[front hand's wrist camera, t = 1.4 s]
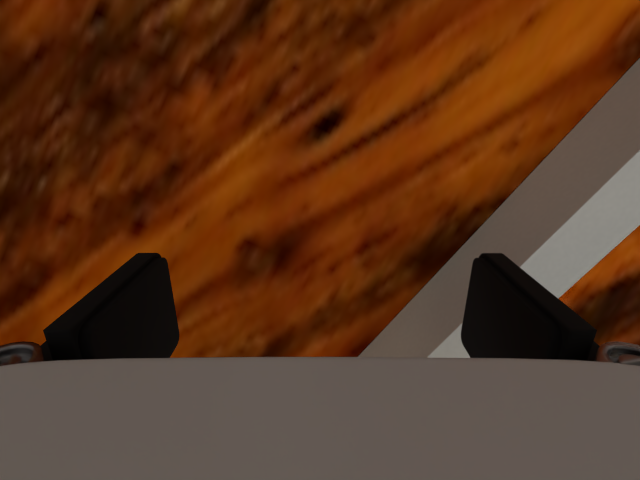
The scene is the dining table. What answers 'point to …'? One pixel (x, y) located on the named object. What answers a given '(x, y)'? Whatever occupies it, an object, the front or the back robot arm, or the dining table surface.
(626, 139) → the beam
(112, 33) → the dining table surface
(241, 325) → the dining table surface
